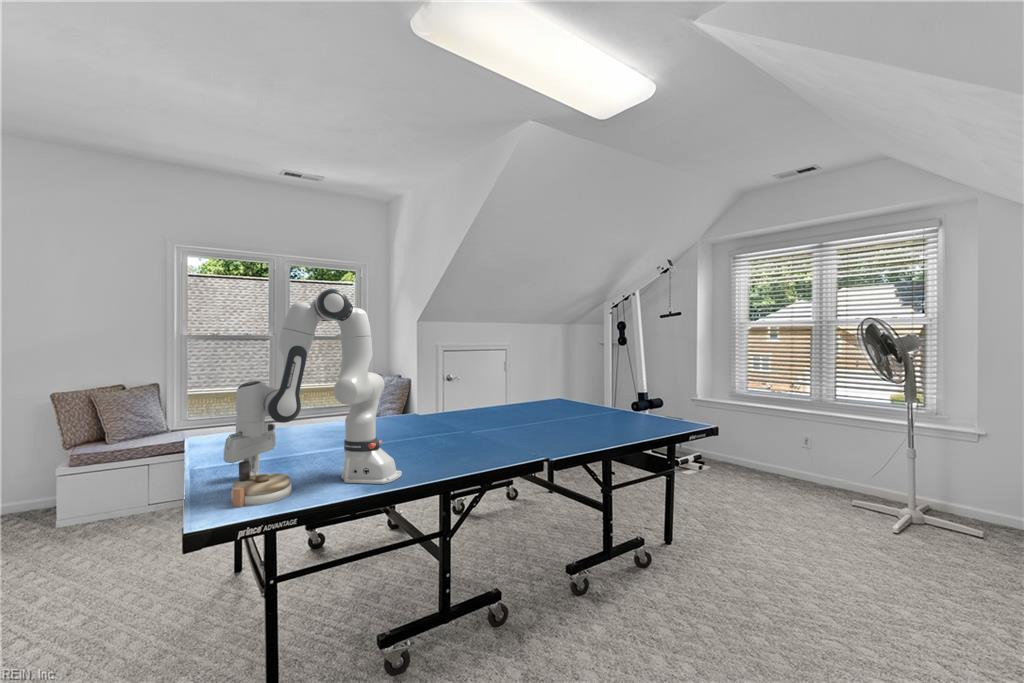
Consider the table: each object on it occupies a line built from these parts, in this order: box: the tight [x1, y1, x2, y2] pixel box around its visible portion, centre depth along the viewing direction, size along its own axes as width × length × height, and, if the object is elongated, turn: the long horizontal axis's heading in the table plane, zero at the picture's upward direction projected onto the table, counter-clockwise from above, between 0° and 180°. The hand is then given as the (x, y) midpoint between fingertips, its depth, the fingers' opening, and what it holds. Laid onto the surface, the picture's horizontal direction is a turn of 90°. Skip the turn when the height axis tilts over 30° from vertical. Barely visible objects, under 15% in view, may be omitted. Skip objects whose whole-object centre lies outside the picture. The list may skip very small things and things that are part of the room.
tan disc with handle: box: [232, 461, 291, 496], centre depth 167 cm, size 17×17×8 cm
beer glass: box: [240, 454, 261, 476], centre depth 186 cm, size 7×7×15 cm
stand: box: [230, 481, 292, 508], centre depth 166 cm, size 18×20×6 cm
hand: (250, 469), depth 171 cm, fingers closed
